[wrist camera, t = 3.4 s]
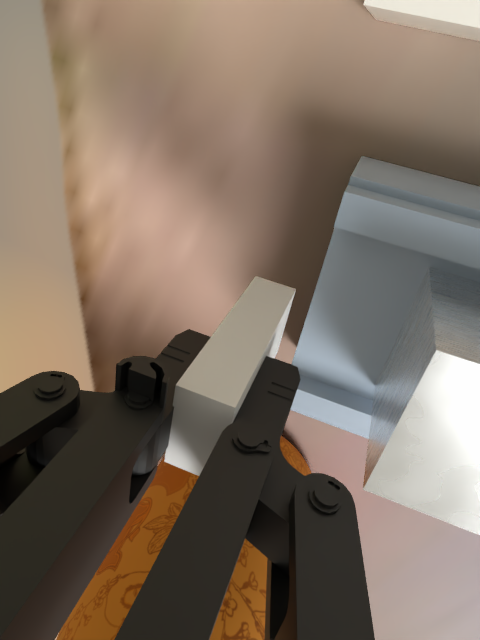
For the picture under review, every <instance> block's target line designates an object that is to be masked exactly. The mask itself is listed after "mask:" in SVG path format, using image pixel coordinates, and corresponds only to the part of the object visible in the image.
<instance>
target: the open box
mask: <svg viewBox="0 0 480 640" xmlns="http://www.w3.org/2000/svg"><path fill="white" fill-rule="evenodd" d="M334 227H335V228H334V231H333V234H332V238H331V241H330V244H329V247H328V250H327V253H326V257H325V260H324V263H323V266H322V269H321V272H320V276H319V279H318V282H317V285H316V288H315V291H314V295H313V298H312V301H311V304H310V307H309V310H308V314H307V317H306V320H305V323H304V326H303V329H302V333H301V336H300V339H299V342H298V345H297V349H296V352H295V355H294V358H293V361H292V364H291V365H294V366H296V367H298V371H299V375H300V379H301V380H300V383H299V386H298V389H297V392H296V395H295V397H294V400H293V403H292V406H291V409H290V410H292V411H295V412H297V413H300V414H303V415H305V416H308V417H311V418H313V419H316V420H319V421H322V422H324V423H327V424H330V425H332V426H335V427H338V428H340V429H343V430H346V431H349V432H351V433H354V434H357V435H359V436H362V437H365V438H367V439H369V432H370V423H371V414H372V405H373V396H374V388H375V384H376V382H377V380H378V377H379V375H380V373H381V371H382V369H383V366H384V364H385V362H386V360H387V358H388V356H389V353H390V351H391V349H392V347H393V345H394V342H395V340H396V338H397V336H398V334H399V332H400V329H401V327H402V325H403V323H404V321H405V318H406V316H407V314H408V312H409V310H410V308H411V305H412V303H413V301H414V299H415V297H416V294H417V292H418V290H419V288H420V286H421V284H422V281H423V279H424V277H425V275H426V273H427V270H428V268H429V267H431V268H434V269H437V270H441V271H444V272H447V273H451V274H454V275H457V276H461V277H464V278H468V279H471V280H474V281H478V282H480V186H476V185H472V184H468V183H464V182H461V181H457V180H453V179H449V178H445V177H441V176H438V175H434V174H430V173H426V172H422V171H419V170H415V169H411V168H407V167H403V166H399V165H396V164H392V163H388V162H384V161H380V160H376V159H373V158H369V157H365V156H361V158H360V160H359V162H358V164H357V166H356V167H355V169H354V171H353V173H352V175H351V177H350V181H349V184H348V186H347V188H346V190H345V192H344V195H343V198H342V201H341V205H340V208H339V211H338V214H337V217H336V221H335V224H334Z"/></svg>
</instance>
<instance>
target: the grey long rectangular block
mask: <svg viewBox="0 0 480 640" xmlns="http://www.w3.org/2000/svg"><path fill="white" fill-rule="evenodd" d="M363 490H365V491H368V492H370V493H373V494H375V495H378V496H381V497H383V498H386V499H388V500H391V501H393V502H396V503H398V504H401V505H404V506H406V507H409V508H411V509H414V510H416V511H419V512H421V513H424V514H427V515H429V516H432V517H434V518H437V519H439V520H442V521H444V522H447V523H450V524H452V525H455V526H457V527H460V528H462V529H465V530H467V531H470V532H472V533H475V534H478V535H480V282H478V281H474V280H471V279H468V278H464V277H461V276H457V275H454V274H451V273H447V272H444V271H441V270H437V269H434V268H431V267H429V268H428V270H427V273H426V275H425V277H424V279H423V281H422V284H421V286H420V288H419V290H418V292H417V294H416V297H415V299H414V301H413V303H412V305H411V308H410V310H409V312H408V314H407V316H406V318H405V321H404V323H403V325H402V327H401V329H400V332H399V334H398V336H397V338H396V340H395V342H394V345H393V347H392V349H391V351H390V353H389V356H388V358H387V360H386V362H385V364H384V366H383V369H382V371H381V373H380V375H379V377H378V380H377V382H376V384H375V388H374V396H373V405H372V414H371V423H370V432H369V440H368V449H367V458H366V467H365V476H364V484H363Z"/></svg>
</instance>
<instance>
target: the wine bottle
mask: <svg viewBox="0 0 480 640" xmlns="http://www.w3.org/2000/svg"><path fill="white" fill-rule="evenodd" d="M280 449H281V451H282V454H283V456H284V457H285V459H286V460H287V461H288V463H289V464H290V465H291V466H293V467H294V468H295V469H296V470H297V471H299V472H300V473H301V474H303V475H304V476H306V475H308V474H311V471H310V469H309V467H308V465H307V463H306V461H305V460H304V458H303V457H302V455H301V454H300V453H299V451H298V450H297V449H296V448H295V447H294V446H293V445H292V444H291V443H290V442H289V441H288V440H286V439H285V438H284V437H283V436H281V438H280ZM164 460H165V456H164V458H163V459H162V461H161V462H160V464H159V465H158V467H157V471H156V474H155V477H154V479H153V481H152V482H151V484H150V486H149V487H148V489H147V491H146V492H145V494H144V495H143V497H142V499H141V500H140V502H139V503H138V505H137V507H136V508H135V510H134V512H133V513H132V515H131V516H130V518H129V520H128V521H127V523H126V525H125V526H124V528H123V529H122V531H121V533H120V534H119V536H118V537H117V539H116V541H115V542H114V544H113V546H112V547H111V549H110V550H109V552H108V554H107V555H106V557H105V559H104V560H103V562H102V563H101V565H100V567H99V568H98V570H97V572H96V573H95V575H94V576H93V578H92V580H91V581H90V583H89V584H88V586H87V588H86V589H85V591H84V593H83V594H82V596H81V597H80V599H79V601H78V602H77V604H76V606H75V607H74V609H73V610H72V612H71V614H70V615H69V617H68V619H67V620H66V622H65V623H64V625H63V627H62V628H61V630H60V632H59V634H58V637H57V640H114V639H115V637H116V635H117V633H118V631H119V629H120V628H121V626H122V624H123V622H124V620H125V618H126V616H127V614H128V612H129V610H130V608H131V606H132V604H133V602H134V601H135V599H136V597H137V595H138V593H139V591H140V589H141V587H142V585H143V583H144V581H145V579H146V577H147V576H148V574H149V572H150V570H151V568H152V566H153V564H154V562H155V560H156V558H157V556H158V554H159V552H160V550H161V549H162V547H163V545H164V543H165V541H166V539H167V537H168V535H169V533H170V531H171V529H172V527H173V525H174V524H175V522H176V520H177V518H178V516H179V514H180V512H181V510H182V508H183V506H184V504H185V502H186V500H187V498H188V497H189V495H190V493H191V491H192V489H193V487H194V485H195V483H196V481H197V479H198V477H199V476H198V475H195V474H193V473H190V472H188V471H186V470H183V469H181V468H178V467H176V466H174V465H171V464H169V463H166V462H164ZM267 559H268V558H267V557H266V556H265V555H263V554H262V553H261V552H260V551H259V550H258V549H257V548H255V547H254V546H253V545H252V544H251V543H250V542H249V541H247V540H246V539H245V541H244V543H243V546H242V549H241V552H240V555H239V558H238V560H237V563H236V566H235V569H234V572H233V575H232V577H231V580H230V583H229V586H228V589H227V592H226V594H225V597H224V600H223V603H222V606H221V608H220V611H219V614H218V617H217V620H216V623H215V625H214V628H213V631H212V634H211V637H210V640H264V638H265V610H266V582H267Z"/></svg>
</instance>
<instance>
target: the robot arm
mask: <svg viewBox="0 0 480 640" xmlns="http://www.w3.org/2000/svg"><path fill="white" fill-rule="evenodd" d="M295 291H296V289H294V288H291V287H288V286H285V285H282V284H279V283H276V282H273V281H270V280H267V279H264V278H261V277H258V276H255V278H254V279H253V280H252V282H251V283H250V284H249V286H248V287H247V289H246V290H245V291H244V293H243V294H242V295H241V297H240V298H239V299H238V301H237V302H236V303H235V305H234V306H233V308H232V309H231V310H230V312H229V313H228V314H227V316H226V317H225V318H224V320H223V321H222V323H221V324H220V325H219V327H218V328H217V329H216V331H215V332H214V333H213V335H212V336H211V337H209V336H206V335H204V334H201V333H198V332H195V331H192V330H190V329H189V330H187V331H184V332H182V333H180V334H178V335H176V336H175V337H174V338H173V339H172V340H171V342H170V343H169V344H168V346H167V347H165V349H164V350H163V351H162V352H161V354H159V355H158V357H157V358H156V359H155V358H150V357H146V356H133V357H130V358H126V359H123V360H122V361H120V362H119V363H117V364H116V383H115V391H114V392H110V393H102V392H92V391H83V390H80V388H79V384H78V381H77V380H76V379H75V378H74V377H73V376H72V375H69V374H67V373H65V372H57V371H49V372H42V373H39V374H36V375H34V376H31V377H30V378H28V379H26V380H24V381H22V382H20V383H19V384H17V385H15V386H13V387H11V388H9V389H7V390H6V391H4V392H2V393H0V640H55V638H56V636H57V635H58V633H59V631H60V630H61V628H62V627H63V625H64V623H65V622H66V620H67V619H68V617H69V615H70V614H71V612H72V610H73V609H74V607H75V606H76V604H77V602H78V601H79V599H80V597H81V596H82V594H83V593H84V591H85V589H86V588H87V586H88V584H89V583H90V581H91V580H92V578H93V576H94V575H95V573H96V572H97V570H98V568H99V567H100V565H101V563H102V562H103V560H104V559H105V557H106V555H107V554H108V552H109V550H110V549H111V547H112V546H113V544H114V542H115V541H116V539H117V537H118V536H119V534H120V533H121V531H122V529H123V528H124V526H125V525H126V523H127V521H128V520H129V518H130V516H131V515H132V513H133V512H134V510H135V508H136V507H137V505H138V503H139V502H140V500H141V499H142V497H143V495H144V494H145V492H146V491H147V489H148V487H149V486H150V484H151V482H152V481H153V479H154V477H155V474H156V471H157V465H158V461H159V460H160V458H161V457H162V455H163V453H164V452H165V450H166V453H165V460H164V462H166V463H169V464H171V465H174V466H176V467H178V468H181V469H183V470H186V471H188V472H190V473H193V474H195V475H198V476H199V477H198V479H197V481H196V483H195V485H194V487H193V489H192V491H191V493H190V495H189V497H188V498H187V500H186V502H185V504H184V506H183V508H182V510H181V512H180V514H179V516H178V518H177V520H176V522H175V524H174V525H173V527H172V529H171V531H170V533H169V535H168V537H167V539H166V541H165V543H164V545H163V547H162V549H161V550H160V552H159V554H158V556H157V558H156V560H155V562H154V564H153V566H152V568H151V570H150V572H149V574H148V576H147V577H146V579H145V581H144V583H143V585H142V587H141V589H140V591H139V593H138V595H137V597H136V599H135V601H134V602H133V604H132V606H131V608H130V610H129V612H128V614H127V616H126V618H125V620H124V622H123V624H122V626H121V628H120V629H119V631H118V633H117V635H116V637H115V639H114V640H210V637H211V634H212V631H213V628H214V625H215V623H216V620H217V617H218V614H219V611H220V608H221V606H222V603H223V600H224V597H225V594H226V592H227V589H228V586H229V583H230V580H231V577H232V575H233V572H234V569H235V566H236V563H237V560H238V558H239V555H240V552H241V549H242V546H243V543H244V541H245V539H246V540H247V541H249V542H250V543H251V544H252V545H253V546H254V547H255V548H257V549H258V550H259V551H260V552H261V553H262V554H263V555H265V556H266V557H267V558H268V559H267V582H266V610H265V638H264V640H375V638H374V631H373V624H372V617H371V610H370V604H369V597H368V590H367V583H366V577H365V570H364V563H363V556H362V549H361V543H360V536H359V529H358V522H357V515H356V509H355V504H354V501H353V498H352V495H351V493H350V492H349V491H348V490H347V488H346V487H345V486H344V485H343V484H342V483H341V482H339V481H338V480H336V479H335V478H334V477H331V476H328V475H325V474H321V473H311V474H308V475H306V476H304V475H303V474H301V473H300V472H299V471H297V470H296V469H295V468H294V467H293V466H291V465H290V464H289V463H288V461H287V460H286V459H285V457H284V456H283V454H282V451H281V449H280V438H281V435H282V432H283V429H284V426H285V423H286V421H287V418H288V415H289V412H290V409H291V406H292V403H293V400H294V397H295V395H296V392H297V389H298V386H299V383H300V380H301V379H300V375H299V371H298V367H296V366H294V365H291V364H288V363H285V362H282V361H280V360H277V359H274V358H275V356H276V354H277V352H278V349H279V345H280V342H281V339H282V335H283V332H284V329H285V325H286V322H287V318H288V315H289V312H290V308H291V305H292V301H293V298H294V295H295Z"/></svg>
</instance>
